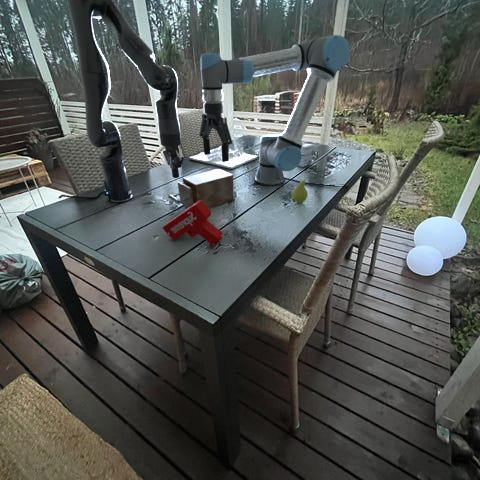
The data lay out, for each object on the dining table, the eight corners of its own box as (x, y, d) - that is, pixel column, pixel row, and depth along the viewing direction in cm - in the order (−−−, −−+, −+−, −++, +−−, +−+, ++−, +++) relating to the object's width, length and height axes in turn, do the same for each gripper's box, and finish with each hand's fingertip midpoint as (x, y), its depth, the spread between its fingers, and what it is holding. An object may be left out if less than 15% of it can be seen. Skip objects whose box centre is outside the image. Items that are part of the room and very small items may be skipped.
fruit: (288, 200, 123) (290, 174, 116) (302, 197, 125) (305, 172, 119) (296, 206, 118) (299, 179, 111) (310, 203, 120) (314, 177, 114)
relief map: (231, 168, 161) (231, 160, 158) (189, 159, 179) (189, 151, 176) (257, 158, 179) (257, 150, 176) (217, 150, 197) (216, 142, 194)
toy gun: (229, 234, 92) (201, 198, 88) (224, 240, 88) (196, 203, 84) (194, 253, 102) (168, 222, 98) (189, 259, 98) (162, 227, 94)
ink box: (304, 162, 171) (306, 143, 164) (310, 164, 168) (313, 144, 161) (296, 165, 166) (298, 145, 159) (302, 167, 163) (305, 147, 156)
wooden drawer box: (198, 211, 114) (195, 185, 108) (185, 203, 122) (182, 177, 115) (233, 199, 124) (233, 174, 118) (219, 192, 131) (218, 168, 125)
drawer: (179, 214, 110) (176, 192, 105) (169, 206, 116) (165, 185, 111) (225, 199, 122) (224, 178, 117) (213, 193, 128) (211, 173, 123)
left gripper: (152, 129, 100) (160, 175, 110) (168, 135, 92) (175, 184, 101) (170, 127, 104) (176, 171, 114) (187, 132, 95) (192, 179, 105)
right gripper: (188, 100, 110) (193, 153, 122) (224, 105, 94) (226, 166, 105) (203, 98, 114) (207, 150, 125) (241, 104, 98) (241, 162, 109)
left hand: (176, 177), depth 107 cm, fingers closed
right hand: (216, 157), depth 115 cm, fingers open, 13 cm apart
